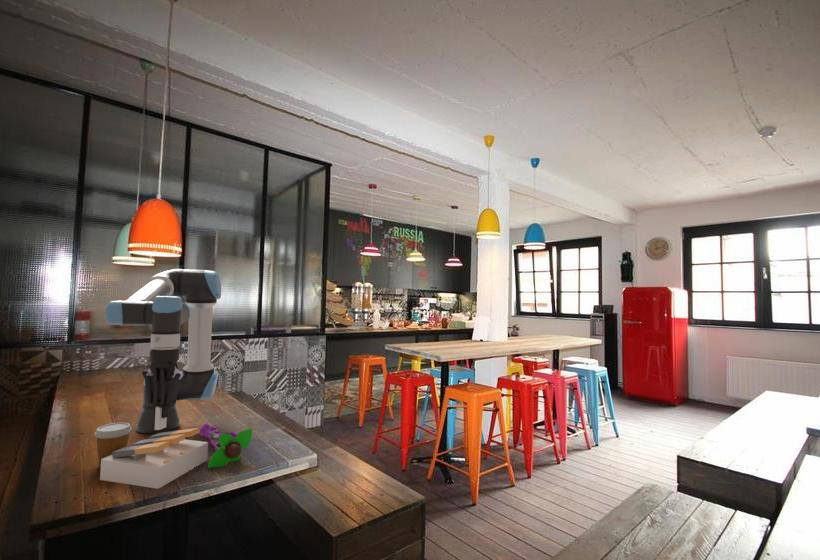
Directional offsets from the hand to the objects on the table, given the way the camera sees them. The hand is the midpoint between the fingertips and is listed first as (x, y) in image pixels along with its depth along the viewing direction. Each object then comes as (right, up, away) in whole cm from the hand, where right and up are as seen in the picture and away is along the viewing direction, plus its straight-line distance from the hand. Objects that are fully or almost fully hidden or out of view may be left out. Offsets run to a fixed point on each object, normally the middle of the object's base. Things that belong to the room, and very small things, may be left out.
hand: (160, 428), depth 117 cm
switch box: (-6, -16, +7) cm, 18 cm away
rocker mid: (-5, -7, +8) cm, 12 cm away
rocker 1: (-7, -7, +1) cm, 10 cm away
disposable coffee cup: (-22, -15, +10) cm, 28 cm away
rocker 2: (-4, -7, +14) cm, 16 cm away
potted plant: (+5, -17, +23) cm, 29 cm away
